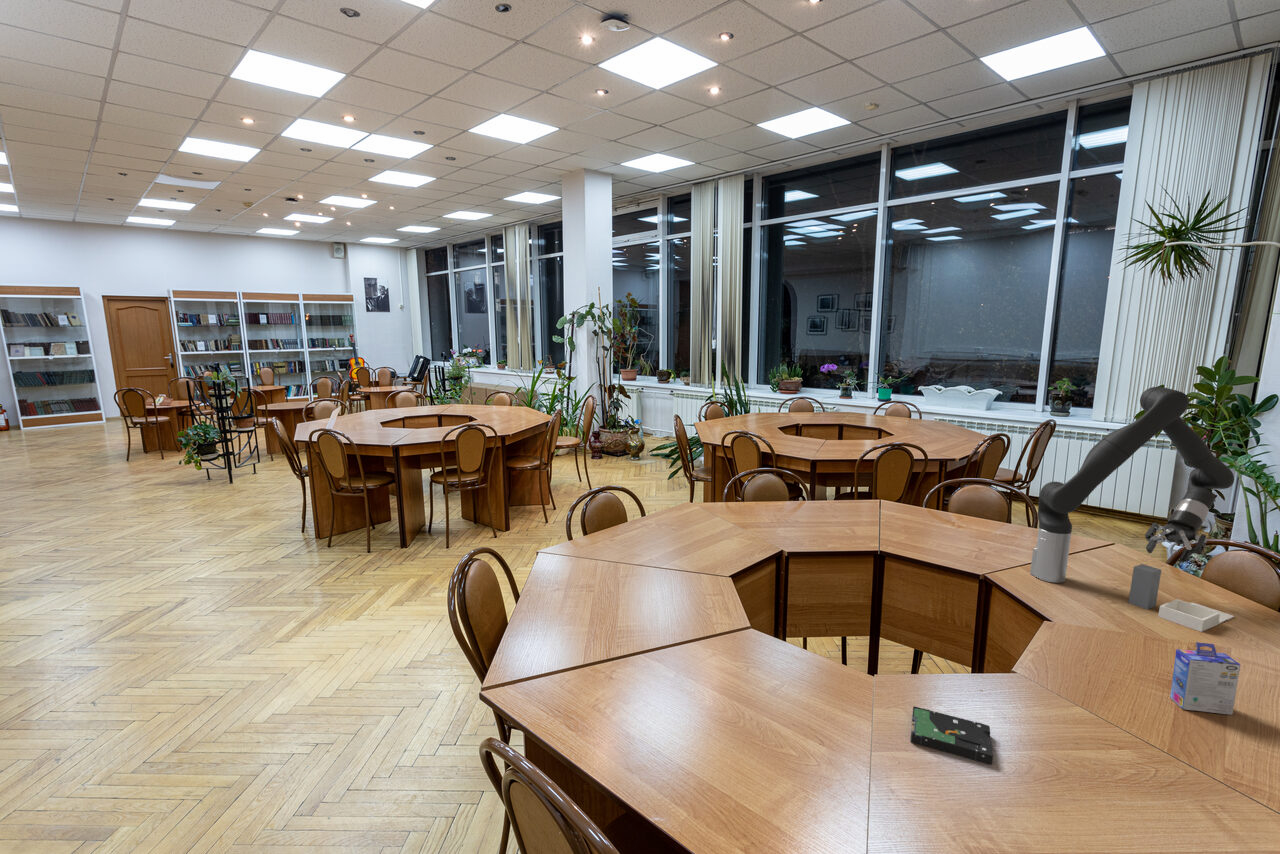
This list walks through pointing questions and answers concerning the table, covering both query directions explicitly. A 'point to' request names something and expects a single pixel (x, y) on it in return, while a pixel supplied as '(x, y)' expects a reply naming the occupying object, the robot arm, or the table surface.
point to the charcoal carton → (1144, 586)
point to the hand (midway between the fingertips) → (1164, 556)
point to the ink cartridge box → (1205, 680)
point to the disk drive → (951, 735)
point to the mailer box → (1192, 615)
